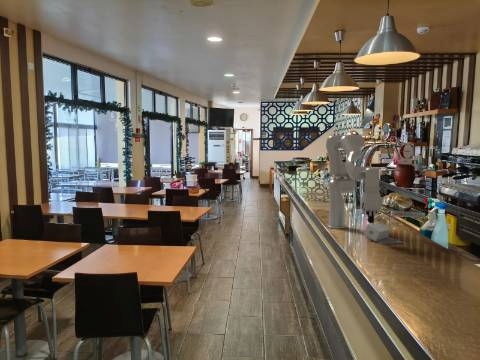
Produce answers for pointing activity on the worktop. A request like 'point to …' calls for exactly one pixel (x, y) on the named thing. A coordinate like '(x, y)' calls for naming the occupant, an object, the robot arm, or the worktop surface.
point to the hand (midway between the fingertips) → (370, 222)
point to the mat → (387, 240)
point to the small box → (377, 231)
